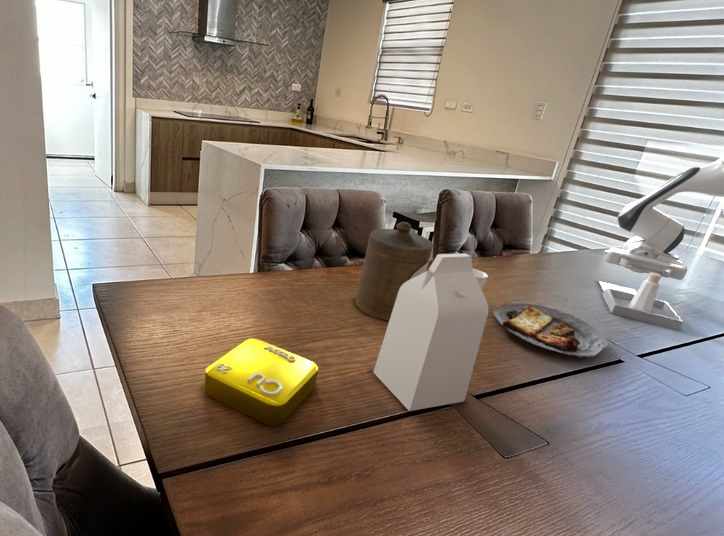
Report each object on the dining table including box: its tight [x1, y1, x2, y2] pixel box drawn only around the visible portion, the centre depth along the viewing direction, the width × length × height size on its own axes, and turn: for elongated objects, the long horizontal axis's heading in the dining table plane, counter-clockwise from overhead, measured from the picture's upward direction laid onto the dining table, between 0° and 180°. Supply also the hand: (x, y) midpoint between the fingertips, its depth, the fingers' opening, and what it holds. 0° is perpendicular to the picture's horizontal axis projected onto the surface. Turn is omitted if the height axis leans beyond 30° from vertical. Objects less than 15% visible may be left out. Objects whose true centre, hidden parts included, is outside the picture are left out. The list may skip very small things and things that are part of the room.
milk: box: [372, 252, 489, 412], centre depth 82 cm, size 12×12×26 cm
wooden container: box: [355, 221, 434, 321], centre depth 113 cm, size 15×15×22 cm
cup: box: [472, 268, 489, 291], centre depth 127 cm, size 7×10×8 cm
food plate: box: [492, 301, 610, 359], centre depth 113 cm, size 25×23×4 cm
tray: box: [602, 288, 684, 331], centre depth 133 cm, size 16×15×3 cm
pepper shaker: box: [628, 273, 662, 312], centre depth 131 cm, size 5×5×11 cm
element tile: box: [204, 337, 319, 427], centre depth 80 cm, size 15×15×5 cm
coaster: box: [598, 281, 637, 294], centre depth 147 cm, size 10×10×1 cm
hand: (647, 270), depth 139 cm, fingers open, 8 cm apart
